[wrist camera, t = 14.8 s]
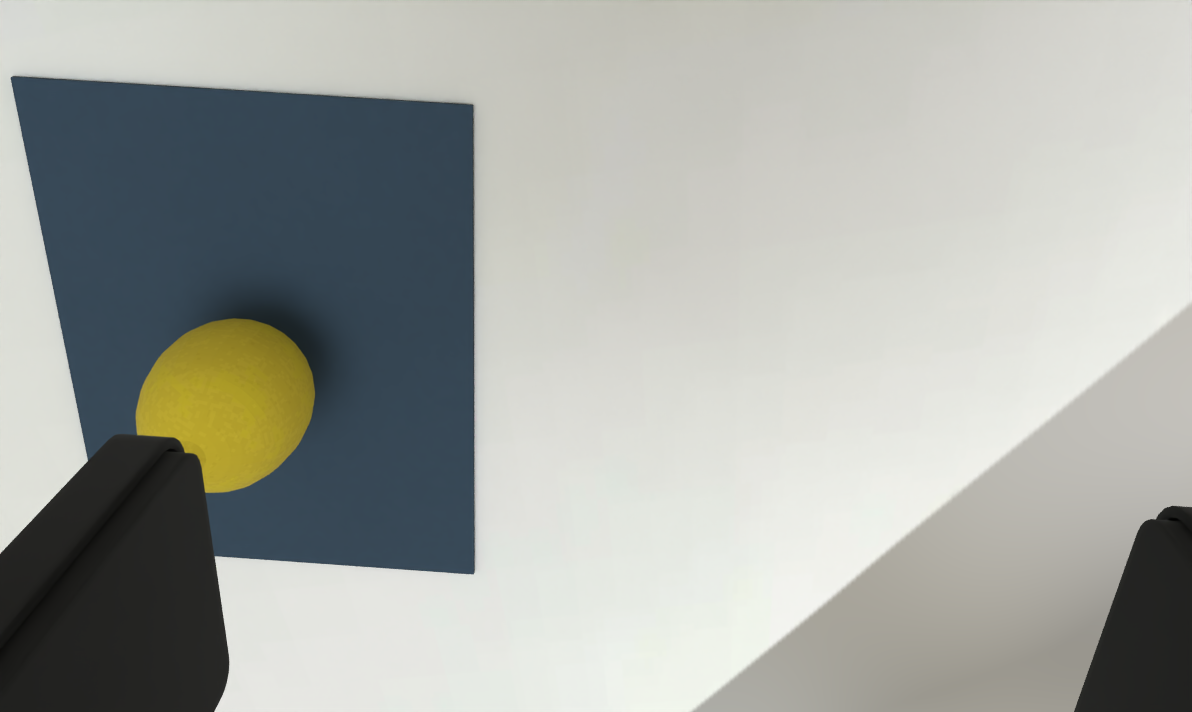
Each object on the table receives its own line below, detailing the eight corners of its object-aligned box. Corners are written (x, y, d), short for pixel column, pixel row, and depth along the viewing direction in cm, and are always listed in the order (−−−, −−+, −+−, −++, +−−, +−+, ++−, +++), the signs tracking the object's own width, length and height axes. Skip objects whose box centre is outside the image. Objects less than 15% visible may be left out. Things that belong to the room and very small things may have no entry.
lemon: (349, 307, 38) (278, 410, 30) (329, 429, 40) (259, 552, 33) (203, 270, 37) (96, 366, 30) (191, 396, 40) (90, 512, 32)
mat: (13, 75, 35) (10, 77, 34) (473, 104, 34) (472, 105, 34) (108, 545, 43) (105, 548, 43) (474, 571, 43) (473, 574, 43)
